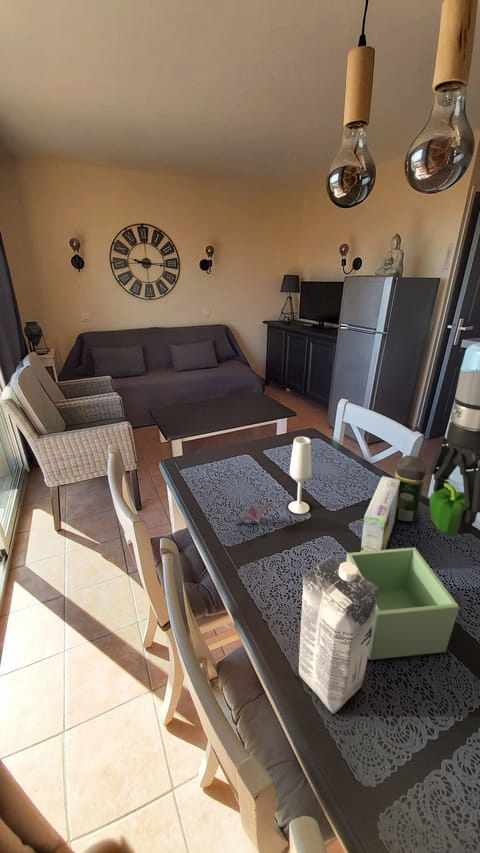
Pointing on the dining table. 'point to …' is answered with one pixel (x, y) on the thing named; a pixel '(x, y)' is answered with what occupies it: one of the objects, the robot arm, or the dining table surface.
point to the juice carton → (335, 630)
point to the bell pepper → (446, 508)
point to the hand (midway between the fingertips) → (449, 518)
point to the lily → (254, 514)
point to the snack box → (380, 515)
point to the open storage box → (406, 604)
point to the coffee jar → (409, 487)
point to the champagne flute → (300, 470)
